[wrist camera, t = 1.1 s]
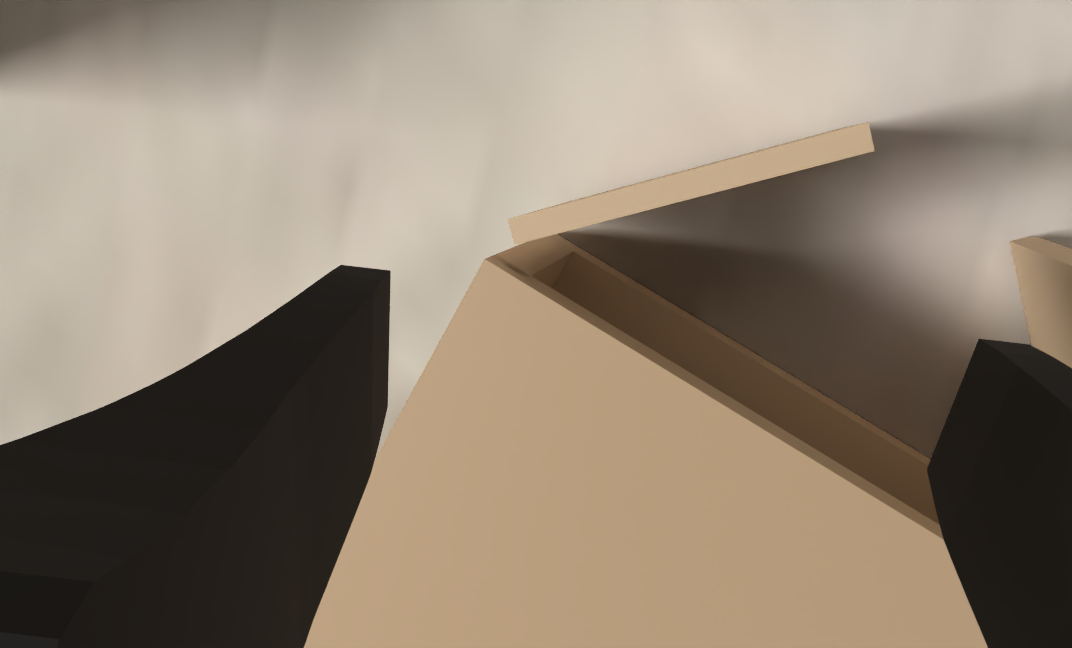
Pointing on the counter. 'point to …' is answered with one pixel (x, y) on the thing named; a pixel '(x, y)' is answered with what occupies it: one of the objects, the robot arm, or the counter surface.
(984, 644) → the cardboard box
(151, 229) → the counter surface
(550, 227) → the left flap
